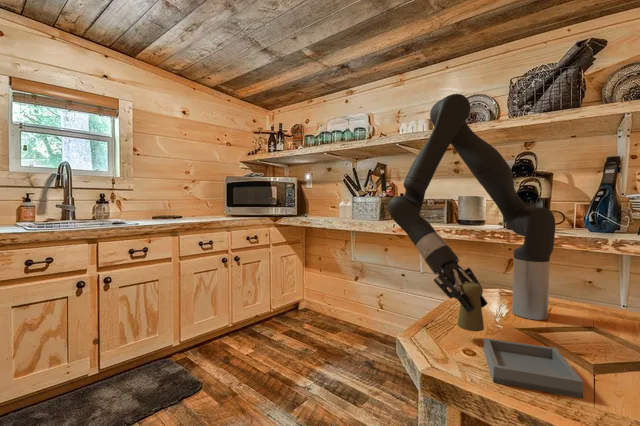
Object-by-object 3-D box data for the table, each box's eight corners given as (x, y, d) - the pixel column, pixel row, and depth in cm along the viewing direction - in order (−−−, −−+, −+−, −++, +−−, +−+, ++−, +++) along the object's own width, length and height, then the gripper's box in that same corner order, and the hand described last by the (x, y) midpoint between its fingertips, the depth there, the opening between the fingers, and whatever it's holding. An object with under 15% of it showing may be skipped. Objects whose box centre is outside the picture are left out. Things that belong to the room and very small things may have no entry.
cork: (487, 332, 76) (488, 286, 76) (460, 330, 77) (460, 285, 77) (480, 322, 82) (480, 280, 81) (455, 321, 83) (455, 279, 83)
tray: (483, 350, 74) (483, 337, 74) (555, 361, 69) (556, 348, 69) (493, 382, 61) (493, 366, 61) (583, 398, 56) (583, 381, 56)
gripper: (427, 246, 81) (472, 306, 71) (460, 242, 89) (504, 295, 80) (411, 263, 86) (451, 321, 76) (443, 258, 94) (483, 310, 84)
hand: (478, 307), depth 78 cm, fingers closed on cork, 5 cm apart
